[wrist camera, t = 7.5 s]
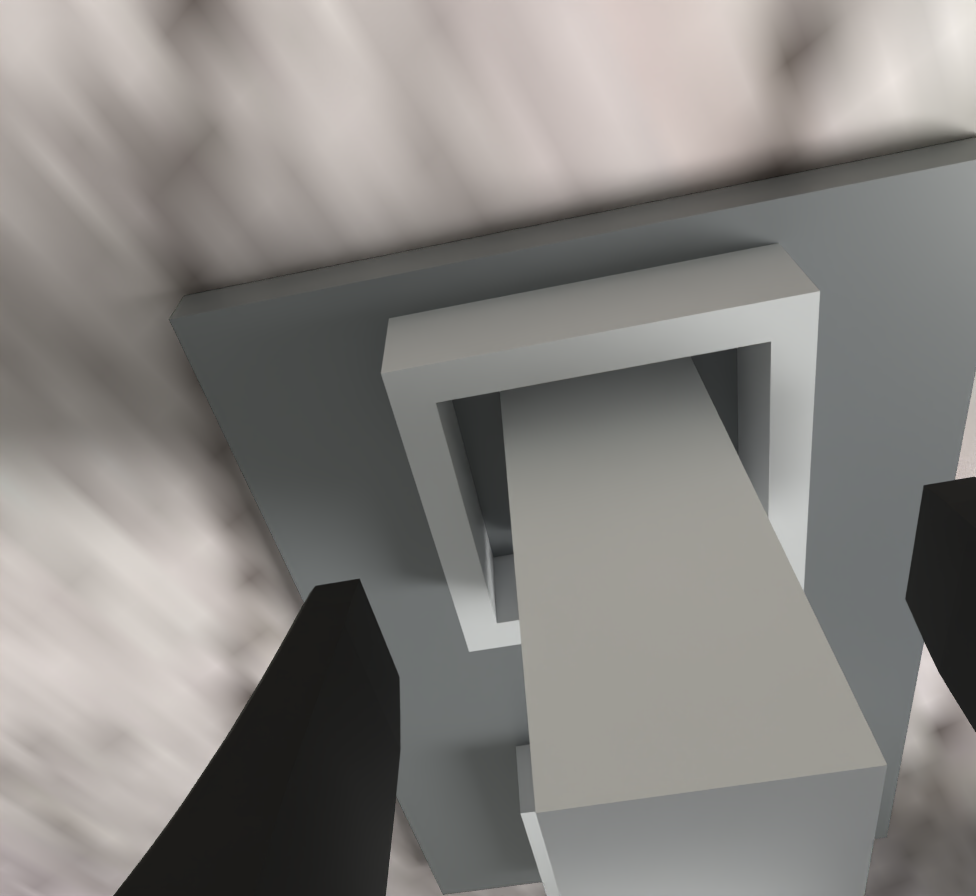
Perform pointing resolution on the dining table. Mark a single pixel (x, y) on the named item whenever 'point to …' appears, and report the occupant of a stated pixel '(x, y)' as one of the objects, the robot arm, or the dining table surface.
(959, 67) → the dining table surface
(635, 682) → the plug
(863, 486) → the port board
